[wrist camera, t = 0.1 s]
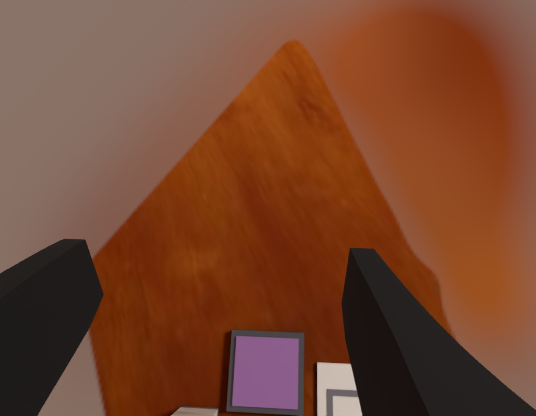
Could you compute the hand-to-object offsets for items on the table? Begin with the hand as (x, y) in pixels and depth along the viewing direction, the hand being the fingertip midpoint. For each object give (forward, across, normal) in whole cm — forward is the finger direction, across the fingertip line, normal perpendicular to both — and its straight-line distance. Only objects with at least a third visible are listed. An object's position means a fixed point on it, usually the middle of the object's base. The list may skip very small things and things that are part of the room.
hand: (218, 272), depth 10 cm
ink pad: (+16, 0, +28) cm, 33 cm away
